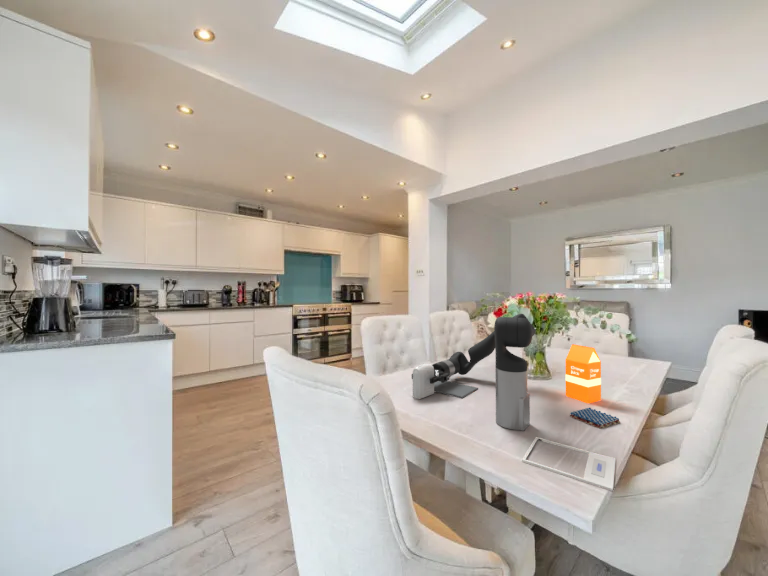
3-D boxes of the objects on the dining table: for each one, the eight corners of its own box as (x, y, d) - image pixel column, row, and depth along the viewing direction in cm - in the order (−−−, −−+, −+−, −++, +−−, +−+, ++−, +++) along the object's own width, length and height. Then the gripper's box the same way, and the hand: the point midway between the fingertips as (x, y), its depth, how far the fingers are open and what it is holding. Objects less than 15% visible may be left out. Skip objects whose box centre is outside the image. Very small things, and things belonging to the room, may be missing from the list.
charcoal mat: (477, 389, 130) (477, 387, 130) (462, 398, 119) (462, 396, 119) (440, 380, 142) (440, 379, 142) (423, 388, 131) (423, 387, 131)
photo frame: (612, 488, 65) (521, 458, 76) (612, 493, 65) (521, 463, 76) (615, 457, 76) (536, 436, 88) (615, 462, 76) (536, 440, 88)
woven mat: (567, 417, 102) (567, 411, 102) (588, 412, 106) (588, 406, 106) (600, 431, 93) (600, 424, 93) (621, 424, 97) (621, 418, 97)
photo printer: (427, 391, 128) (427, 361, 128) (435, 393, 125) (435, 363, 125) (411, 397, 120) (410, 365, 120) (419, 400, 117) (419, 367, 117)
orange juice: (588, 403, 113) (587, 348, 113) (565, 396, 121) (565, 344, 121) (601, 400, 116) (601, 347, 116) (578, 393, 124) (578, 343, 124)
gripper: (457, 382, 129) (436, 392, 117) (428, 375, 138) (406, 384, 126) (457, 364, 129) (436, 372, 117) (428, 359, 138) (406, 366, 126)
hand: (421, 378), depth 121 cm, fingers open, 8 cm apart
